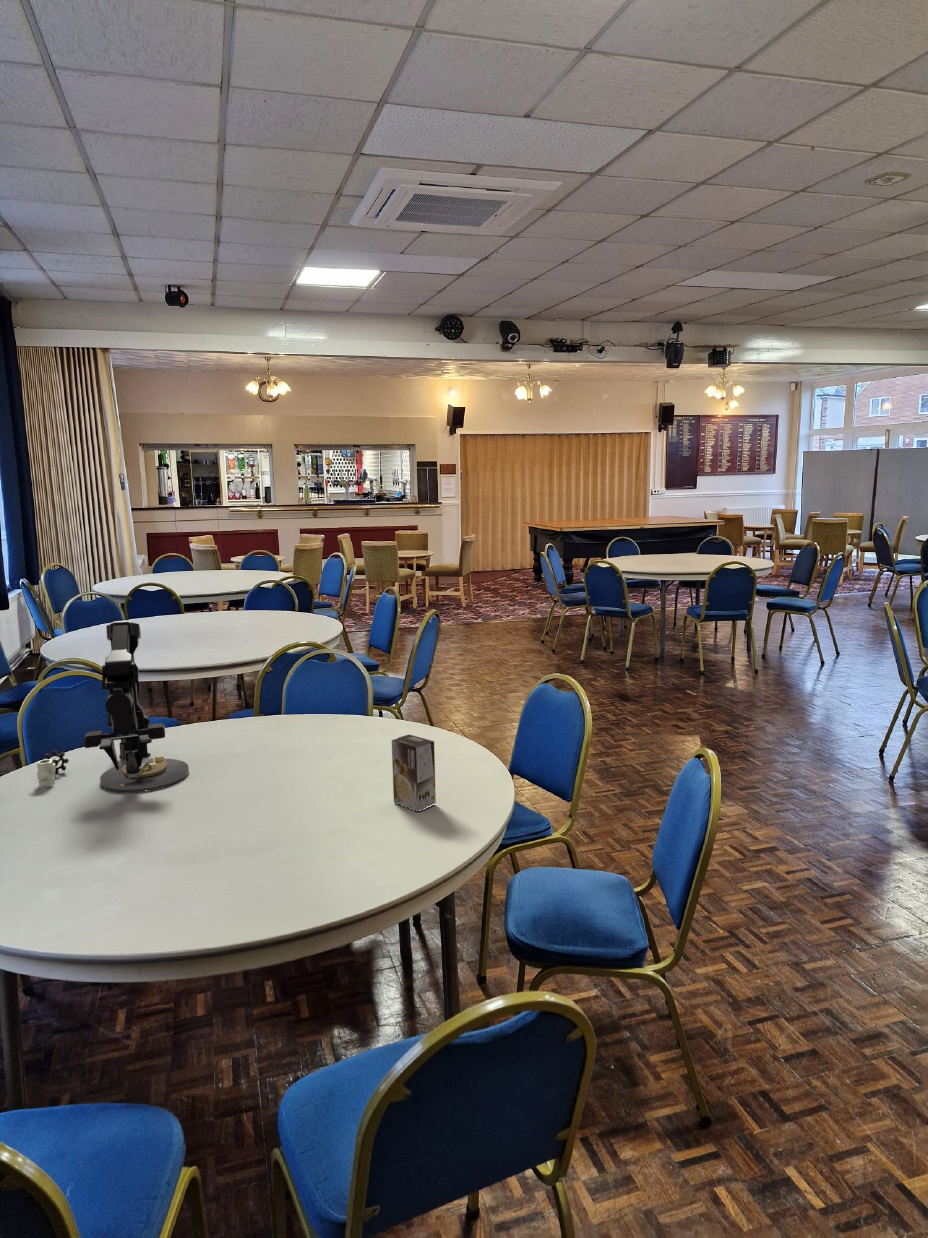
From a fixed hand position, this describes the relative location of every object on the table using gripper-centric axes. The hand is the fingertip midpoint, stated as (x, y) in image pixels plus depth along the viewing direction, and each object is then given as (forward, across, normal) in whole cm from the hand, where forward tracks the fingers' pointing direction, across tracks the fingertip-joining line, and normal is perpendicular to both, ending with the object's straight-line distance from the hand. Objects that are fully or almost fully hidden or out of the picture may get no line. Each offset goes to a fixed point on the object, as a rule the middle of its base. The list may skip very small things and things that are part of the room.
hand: (129, 768), depth 200 cm
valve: (+5, +21, -17) cm, 27 cm away
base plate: (+6, -3, -9) cm, 11 cm away
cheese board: (+4, -2, -7) cm, 8 cm away
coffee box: (+9, -65, +35) cm, 75 cm away
